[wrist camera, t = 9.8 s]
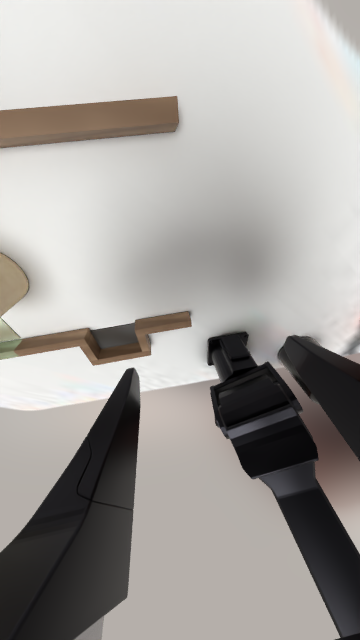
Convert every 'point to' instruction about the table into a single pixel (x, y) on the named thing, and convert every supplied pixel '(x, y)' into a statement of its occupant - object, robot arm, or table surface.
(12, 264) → the candle
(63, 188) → the table surface
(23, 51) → the table surface
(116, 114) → the trap lane
